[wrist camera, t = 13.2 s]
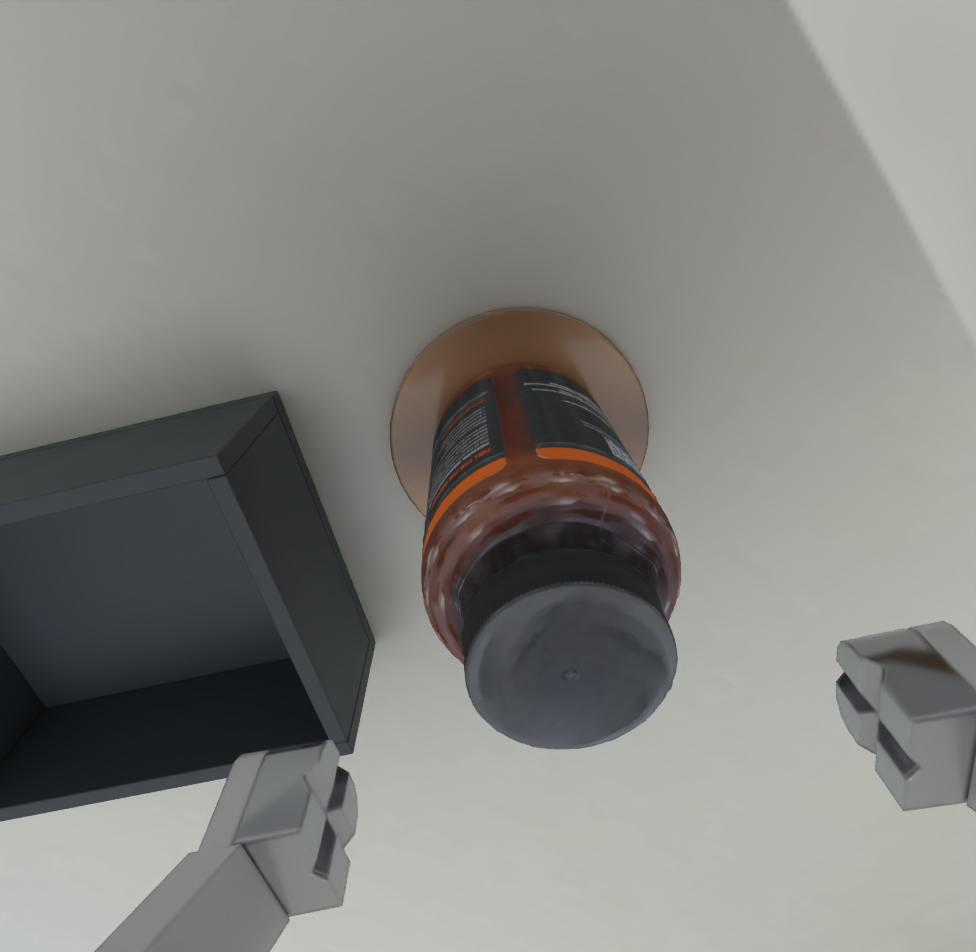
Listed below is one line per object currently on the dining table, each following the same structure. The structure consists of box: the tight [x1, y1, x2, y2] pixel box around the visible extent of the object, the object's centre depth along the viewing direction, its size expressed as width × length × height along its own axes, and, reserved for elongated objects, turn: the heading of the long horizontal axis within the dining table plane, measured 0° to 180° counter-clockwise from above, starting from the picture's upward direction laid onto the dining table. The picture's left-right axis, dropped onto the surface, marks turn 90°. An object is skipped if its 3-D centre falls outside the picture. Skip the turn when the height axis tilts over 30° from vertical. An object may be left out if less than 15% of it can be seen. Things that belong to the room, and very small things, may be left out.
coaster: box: [390, 308, 649, 517], centre depth 22 cm, size 9×9×1 cm
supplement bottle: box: [421, 364, 681, 749], centre depth 16 cm, size 6×6×11 cm
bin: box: [0, 391, 375, 821], centre depth 21 cm, size 11×15×6 cm
